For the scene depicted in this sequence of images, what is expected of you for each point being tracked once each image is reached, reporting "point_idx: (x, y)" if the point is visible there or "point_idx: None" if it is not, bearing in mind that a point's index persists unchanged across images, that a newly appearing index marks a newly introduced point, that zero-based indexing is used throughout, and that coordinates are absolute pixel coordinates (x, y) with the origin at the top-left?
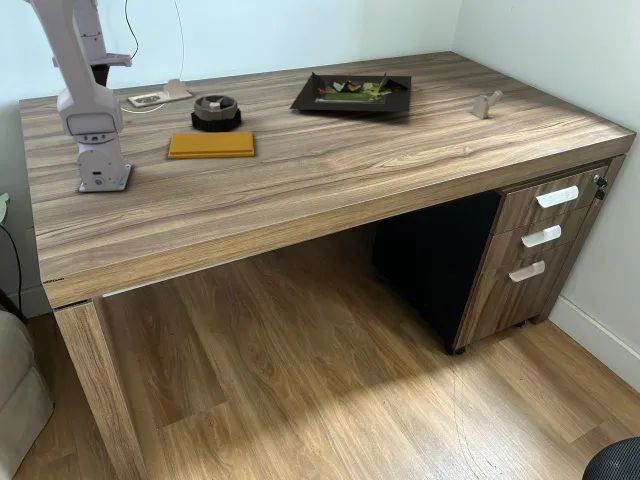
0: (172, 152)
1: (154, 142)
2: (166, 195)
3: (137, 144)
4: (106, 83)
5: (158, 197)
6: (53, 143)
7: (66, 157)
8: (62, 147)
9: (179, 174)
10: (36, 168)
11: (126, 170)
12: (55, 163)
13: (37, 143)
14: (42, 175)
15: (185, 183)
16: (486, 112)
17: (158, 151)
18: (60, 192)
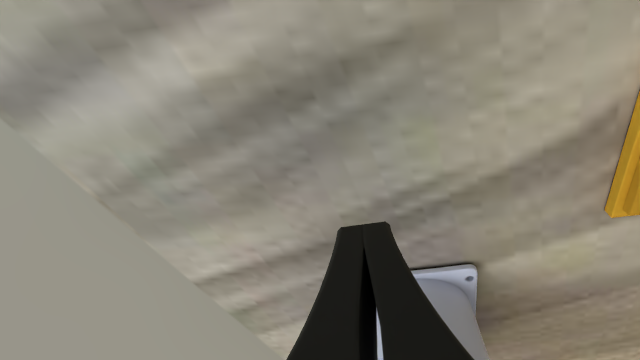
0: (638, 214)
1: (554, 86)
2: (575, 348)
3: (474, 115)
4: (437, 314)
5: (555, 353)
6: (127, 146)
7: (245, 229)
8: (184, 171)
9: (625, 281)
10: (203, 283)
11: (468, 293)
12: (236, 259)
13: (70, 152)
14: (243, 306)
15: (634, 312)
16: None
17: (568, 162)
18: None
